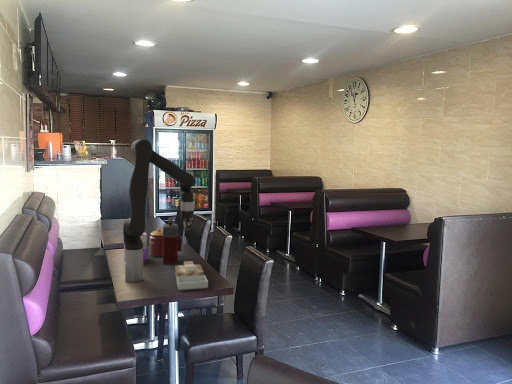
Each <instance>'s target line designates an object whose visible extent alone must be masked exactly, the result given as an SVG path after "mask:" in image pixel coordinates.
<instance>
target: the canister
mask: <svg viewBox="0 0 512 384" xmlns="http://www.w3.org/2000/svg"><path fill="white" fill-rule="evenodd" d="M148 251H149V256H152V257H163V229H162V228H161V227H158V228H157V230H153V231H152V232H150V235H149V250H148Z"/></svg>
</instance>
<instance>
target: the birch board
mask: <svg viewBox="0 0 512 384" xmlns="http://www.w3.org/2000/svg"><path fill="white" fill-rule="evenodd" d="M194 266H195V271H187V272H186V271H185V268H184V264H183V265H182V264H181V265H175V266H174V267H175V268H174V269H175V272H174V273H175V279H176V280H177V277H179V276H195V275H205V273H204V272H205V271H204V269H203V268H202V265H201V264H199V263H198V264H194Z"/></svg>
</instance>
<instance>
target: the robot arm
mask: <svg viewBox="0 0 512 384" xmlns="http://www.w3.org/2000/svg"><path fill="white" fill-rule="evenodd" d="M130 149H131V152H132V153H133V155H135V163H134V168H133V171H132V174H131V177H130V180H129V191H128V195H129V196H128V197H129V203H130V206H131V216H130V217H129V218H128V219H126V220H125V221H124V223H123V227H122V232H123V233H122V234H123V236H122V237H123V245H124V244H125V261H124V262H125V264H124V267H125V268H124V278H125V279H124V282H129V283H137V282H141V281H143V280H144V260H143V242H142V240H141V237H140V236H141V235H142V234H143V233H145V231H146V207H147V200H148V199H147V197H148V191H149V173H150V171H149V170H150V165H151V164H152V165H154V166H155V167H157V168H158V169H160V170H161V171H163V173H165V174H166V175H168V176H169V177H171V178H172V179H174V180H177V181H178V182H179V183H178V184H179V191H180V194H181V196H180V218H181V219H183V230H184V237H185V239H186V240H187V241H188V240H190V239H191V233H192V220H191V219H194V217H195V202H194V199H195V198H194V197H195V196H194V192H193V189H192V187H194V186H195V185H196V181H197V180H196V178H195V176H194V175H192V174H191V173H189V172H188V171H186V170H184V169H182V168H181V167H180V166H178V165H177V164H176V163H174V162H173V161H171V160H169V159H168V158H166V157H164V156H163V155H161V154H159V153H157V152H156V151H154V149H153V145H152V143H151V141H150V140H147V139H145V138H143V139H142V138H141V139H136V140H134V141H133V142H132V143H131V148H130ZM150 163H151V164H150Z"/></svg>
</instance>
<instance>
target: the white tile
mask: <svg viewBox="0 0 512 384" xmlns="http://www.w3.org/2000/svg"><path fill="white" fill-rule="evenodd" d="M194 265H195V264H185V271H186V272H187V271H195V266H194Z"/></svg>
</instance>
